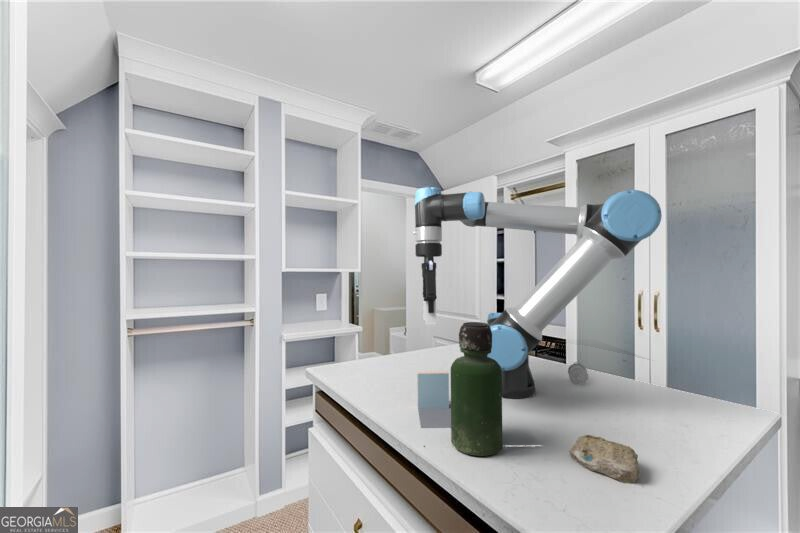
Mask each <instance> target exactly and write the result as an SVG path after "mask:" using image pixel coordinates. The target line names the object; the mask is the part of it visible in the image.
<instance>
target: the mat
mask: <svg viewBox="0 0 800 533" xmlns="http://www.w3.org/2000/svg"><path fill="white" fill-rule="evenodd" d="M417 406H418V403H417ZM417 410H418V417H419V424H420V429H451V403H449V408H432V409H418V408H417Z"/></svg>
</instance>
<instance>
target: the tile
mask: <svg viewBox="0 0 800 533" xmlns="http://www.w3.org/2000/svg"><path fill="white" fill-rule="evenodd" d="M416 372H417V374H416V376H417V382H416V383H417V385H416V386H417V404H418V405H417V410H418V409H432V408H449V404H450V386H449V385H450V373H449V371H448V370H447V371H446V370H445V371H444V370H443V371H437V370H436V371H416Z"/></svg>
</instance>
